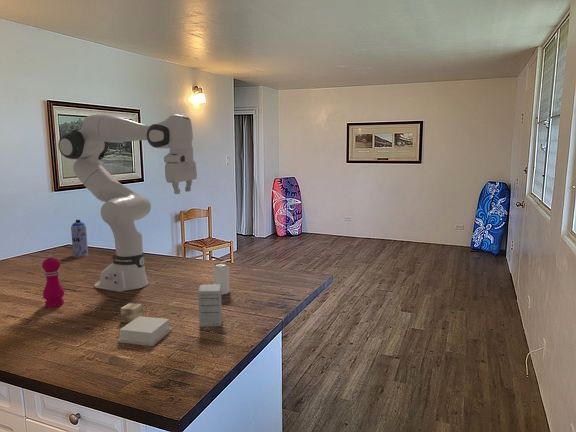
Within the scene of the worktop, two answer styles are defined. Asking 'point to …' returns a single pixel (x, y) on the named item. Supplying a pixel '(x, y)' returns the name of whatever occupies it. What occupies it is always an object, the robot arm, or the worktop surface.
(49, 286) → the pepper mill
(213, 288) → the supplement box
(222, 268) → the can
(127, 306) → the maple block
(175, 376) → the worktop surface
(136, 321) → the pedestal
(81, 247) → the aerosol can
